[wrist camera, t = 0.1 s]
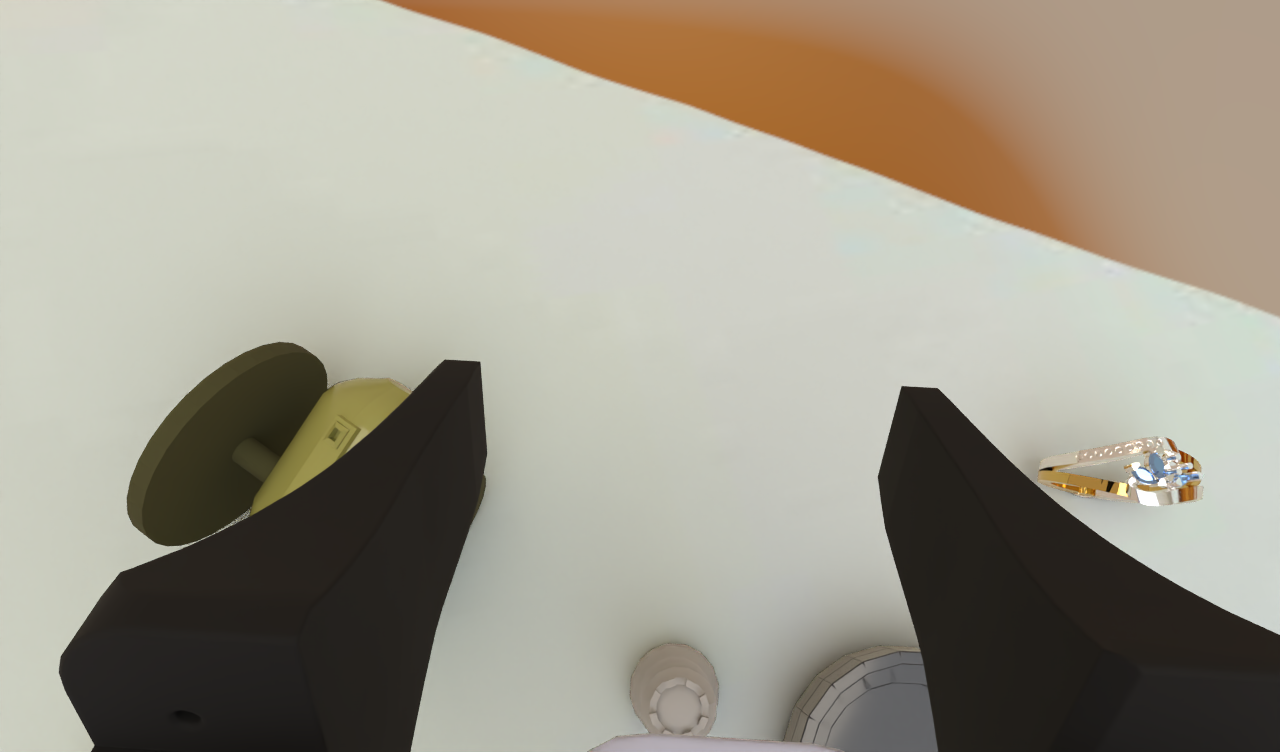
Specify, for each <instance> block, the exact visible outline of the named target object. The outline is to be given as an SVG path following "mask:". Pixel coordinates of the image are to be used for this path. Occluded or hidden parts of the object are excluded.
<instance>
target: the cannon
mask: <svg viewBox="0 0 1280 752" xmlns="http://www.w3.org/2000/svg"><path fill="white" fill-rule="evenodd" d="M411 393H412V391H411V390H410V389H408V388H407V387H406V386H404V385H402V384H401V383H399V382H397V381H395V380H393V379H390V378H356V379H351V380H347V381H342V382H339V383H337V384H335V385H334V386H332V387H331V388H329V389H327V373H326V371H325V368H324V365H323V364H322V362H321V361H320V360H319V359H318V358H317V357H316V356H314V355H313V354H311V353H310V352H309V351H307V350H306V349H304V348H303V347H301V346H298V345H296V344H294V343H284V342H278V343H272V344H267V345H263V346H260V347H257V348H255V349H252V350H250V351H247V352H245V353H243V354H241V355H239V356H238V357H236V358H234V359H232V360H231V361H229V362H227V363H225V364H224V365H222V366H221V367H220V368H218V369H217V370H216V371H214V372H213V373H212V374H210V375H209V376H207V377H206V378H205V379H204V380H203V381H201V382H200V383H199V384H198V385H197V386H196V387H195V388H194V389H193V390H191V391H190V392H189V393H188V394H187V395H186V396H185V397H184V398H183V399H182V400H181V401H180V402H179V404H178V405H177V406H176V407H175V408H174V409H173V410H172V411H171V412H170V414H169V415H168V416H167V417H166V418H165V420H164V421H163V422H162V424H161V425H160V426H159V428H158V429H157V431H156V432H155V433H154V435H153V436H152V437H151V439H150V441H149V442H148V444H147V446H146V448H145V449H144V451H143V453H142V455H141V456H140V458H139V460H138V463H137V465H136V468H135V470H134V473H133V475H132V478H131V480H130V485H129V490H128V495H127V511H128V515H129V518H130V520H131V522H132V524H133V526H135V527H136V528H137V529H138V530H139V531H140V532H142V533H143V534H144V535H146V536H147V537H148V538H150V539H151V540H152V541H153V542H155V543H157V544H161V545H164V546H181V545H185V544H188V543H192V542H195V541H198V540H200V539H202V538H204V537H207V536H209V535H211V534H213V533H215V532H216V531H218V530H220V529H221V528H223V527H225V526H226V525H228V524H230V523H231V522H232V521H234V520H235V519H236V518H238V517H239V516H240V515H242V514H243V513H244V512H246V511H247V510H248V509H249V508H250V507H252V508H251V512H250V516H252V515H253V514H255V513H257V512H258V511H260V510H262V509H264V508H265V507H267V506H269V505H270V504H272V503H274V502H275V501H277V500H279V499H281V498H282V497H284V496H286V495H287V494H289V493H291V492H293V491H294V490H296V489H297V488H299V487H300V486H302V485H303V484H305V483H306V482H308V481H309V480H311V479H312V478H313V477H315V476H316V475H318V474H319V473H321V472H322V471H324V470H325V469H326V468H328V467H329V466H330V465H332V464H333V463H334V462H335V461H337V460H338V459H339V458H341V457H342V456H343V455H344V454H345V453H347V452H348V451H349V450H350V449H351V448H352V447H354V446H355V445H356V444H357V443H358V442H360V441H361V440H362V439H363V438H364V437H365V436H367V435H368V434H369V433H370V432H371V431H372V430H373V429H375V428H376V427H377V426H378V425H379V424H380V423H381V422H382V421H383V420H384V419H385V418H386V417H387V416H388V415H389V414H390V413H392V412H393V411H394V410H395V409H396V408H397V407H398V406H399V405H400V404H401V403H402V402H403V401H404V400H405V399H406V398H407V397H408V396H409V395H410V394H411ZM485 487H486V478H485V476H484V475H483V479H482V484H481V489H480V494H479V499H478V504H477V507H476V510H475V513H474V516H473V519H474V517H475V515H476V513H477V511H478V509H479V506H480V504H481V501H482V499H483V496H484V491H485ZM250 516H249V517H250ZM473 519H472V521H473ZM471 523H472V522H471Z"/></svg>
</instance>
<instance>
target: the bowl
mask: <svg viewBox="0 0 1280 752" xmlns="http://www.w3.org/2000/svg"><path fill="white" fill-rule="evenodd" d="M784 742H800V743H812V744H816V745H821V746H825V747H829V748H834V749H838V750H842V751H844V752H938V748H937V741H936V735H935V728H934V722H933V715H932V709H931V704H930V698H929V692H928V687H927V681H926V675H925V670H924V664H923V659H922V655H921V651H920V649H919V648H915V647H901V646H881V645H879V646H875V647H872V648H868V649H865V650H861V651H858V652H854V653H851V654H847V655H846V656H843V657H841V658H840V659H839V660H837V661H836V662H834V663H833V664H832V665H830V666H829V667H827V668H826V669H824V670H823V671H822V672H820V673H819V674H817V675H816V677H815V678H814V679H813V680H812V682H811V683H810V685H809V686H808V687H807V689H806V690H805V692H804V693H803V694H802V696H801V697H800V699H799V700H798V701H797V703H796V704H795V706H794V709H793V712H792V715H791V718H790V721H789V724H788V727H787V731H786V734H785V737H784Z"/></svg>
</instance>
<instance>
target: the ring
mask: <svg viewBox="0 0 1280 752" xmlns="http://www.w3.org/2000/svg"><path fill="white" fill-rule="evenodd" d="M1159 453H1163V454H1164V455H1163V456H1162V457H1160V456H1158V455H1157V454H1159ZM1140 455H1143V456H1144V457H1145V459H1144V466H1145V468H1143V467H1140V463H1131V464H1128V465H1125V466H1124V469H1125V471H1126V473H1127V472H1128V473H1129V475H1130V477H1129V478H1127V480H1126V481H1125V482H1119V481H1109V480H1102V479H1097V478H1092V477H1086V476H1081V475H1075V474H1069V473H1063V472H1059V470H1065V469H1072V468H1078V467H1085V466H1091V465H1097V464H1102V463H1108V462H1113V461H1118V460H1122V459H1127V458H1131V457H1135V456H1140ZM1203 477H1204V474H1203V473H1201V465H1200V464H1199V462H1198V461H1197V460H1196V459H1194V458H1193V457H1192V456H1190V455H1188V454H1186V453H1184V452H1182V451H1180V450H1178V448H1177V446H1176V444H1175V443H1174V442H1173V441H1172V440H1170V439H1168V438H1165V437H1148V438H1142V439H1137V440H1133V441H1128V442H1124V443H1119V444H1114V445H1109V446H1104V447H1099V448H1093V449H1088V450H1082V451H1077V452H1071V453H1065V454H1060V455H1055V456H1050V457H1047V458H1044V459H1042V460H1041V461H1040V466H1039V471H1038V478H1037V482H1039V483H1041V484H1043V485H1046V486H1049V487H1052V488H1055V489H1059V490H1062V491H1066V492H1070V493H1073V495H1076V496H1080V497H1085V498H1089V497H1092V498H1098V499H1105V500H1112V501H1120V502H1130V503H1142V504H1145V505H1152V506H1164V505H1171V504H1185V503H1192V502H1197V501H1200V500H1202V499H1203V486H1198V485H1199V484H1200V482H1201V480H1202V479H1203ZM1138 483H1139V484H1142V485H1138Z"/></svg>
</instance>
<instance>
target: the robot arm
mask: <svg viewBox="0 0 1280 752" xmlns="http://www.w3.org/2000/svg"><path fill="white" fill-rule="evenodd" d="M486 457H487V444H486V431H485V418H484V404H483V391H482V378H481V364H480V362H477V361H460V360H444V361H443V362H442V363H441V364H439V365H438V366H437V367H436V368H435V369H434V370H433V371H432V372H431V373H430V374H429V375H428V377H427V378H426V379H425V380H424V381H423V382H422V383H421V384H420V385H419V386H418V387H417V388H416V389H415V390H414V391H413V392H412V393H411V394H410V395H409V396H408V397H407V398H406V399H405V400H404V401H403V402H402V403H401V404H400V405H399V406H398V407H397V408H396V409H395V410H394V411H393V412H392V413H390V414H389V415H388V416H387V417H386V418H385V419H384V420H383V421H382V422H381V423H380V424H379V425H378V426H377V427H376V428H375V429H373V430H372V431H371V432H370V433H369V434H368V435H367V436H365V437H364V438H363V439H362V440H361V441H360V442H358V443H357V444H356V445H355V446H354V447H352V448H351V449H350V450H349V451H348V452H347V453H345V454H344V455H343V456H342V457H341V458H339V459H338V460H337V461H335V462H334V463H333V464H332V465H330V466H329V467H328V468H326V469H325V470H324V471H322V472H321V473H319V474H318V475H316V476H315V477H313V478H312V479H311V480H309V481H308V482H306V483H305V484H303V485H302V486H300V487H299V488H297V489H296V490H294V491H293V492H291V493H289V494H287V495H286V496H284V497H282V498H281V499H279V500H277V501H275V502H274V503H272V504H270V505H269V506H267V507H265V508H264V509H262V510H260V511H258V512H257V513H255V514H253V515H252V516H250V517H248V518H246V519H244V520H242V521H240V522H238V523H236V524H234V525H232V526H230V527H228V528H226V529H224V530H222V531H220V532H218V533H216V534H214V535H212V536H210V537H207V538H205V539H203V540H201V541H199V542H197V543H194V544H192V545H190V546H188V547H185V548H183V549H181V550H178V551H175V552H173V553H170V554H168V555H165V556H163V557H160V558H157V559H155V560H152V561H150V562H147V563H145V564H142V565H139V566H137V567H134V568H132V569H129V570H126V571H123V572H120V574H119V575H118V576H117V577H116V579H115V580H114V581H113V582H112V584H111V585H110V586H109V587H108V589H107V590H106V591H105V592H104V594H103V595H102V596H101V598H100V599H99V601H98V602H97V604H96V605H95V607H94V608H93V610H92V611H91V613H90V614H89V616H88V617H87V619H86V620H85V621H84V623H83V624H82V626H81V627H80V629H79V630H78V632H77V633H76V635H75V636H74V638H73V639H72V641H71V642H70V644H69V645H68V647H67V648H66V650H65V651H64V652H63V654H62V655H61V659H60V666H59V674H60V677H61V680H62V683H63V686H64V689H65V691H66V693H67V695H68V697H69V699H70V701H71V703H72V704H73V706H74V708H75V710H76V712H77V714H78V715H79V717H80V719H81V721H82V723H83V725H84V726H85V728H86V730H87V732H88V734H89V736H90V738H91V739H92V741H93V743H94V745H95V746H94V748H93V749H92V751H91V752H410V751H411V746H412V740H413V735H414V730H415V725H416V720H417V716H418V711H419V706H420V701H421V696H422V691H423V686H424V681H425V677H426V672H427V668H428V663H429V659H430V654H431V650H432V645H433V641H434V636H435V632H436V628H437V625H438V621H439V618H440V614H441V611H442V608H443V605H444V602H445V599H446V596H447V593H448V590H449V587H450V584H451V581H452V578H453V575H454V572H455V569H456V566H457V563H458V561H459V558H460V555H461V552H462V549H463V546H464V543H465V540H466V537H467V534H468V531H469V528H470V525H471V522H472V519H473V516H474V513H475V510H476V507H477V504H478V499H479V494H480V489H481V484H482V479H483V474H484V468H485V463H486ZM878 481H879V489H880V497H881V504H882V511H883V517H884V523H885V529H886V533H887V536H888V540H889V543H890V547H891V550H892V554H893V557H894V561H895V564H896V568H897V571H898V574H899V578H900V581H901V585H902V588H903V591H904V595H905V598H906V601H907V605H908V608H909V612H910V615H911V618H912V622H913V625H914V628H915V632H916V635H917V639H918V643H919V647H920V651H921V655H922V659H923V664H924V670H925V675H926V681H927V687H928V692H929V698H930V704H931V709H932V715H933V722H934V728H935V735H936V741H937V748H938V752H1280V635H1278V634H1276V633H1274V632H1272V631H1270V630H1267V629H1265V628H1263V627H1261V626H1259V625H1256V624H1254V623H1252V622H1250V621H1248V620H1245V619H1243V618H1241V617H1239V616H1237V615H1234V614H1232V613H1230V612H1228V611H1226V610H1224V609H1222V608H1220V607H1218V606H1216V605H1214V604H1213V603H1211V602H1209V601H1207V600H1205V599H1203V598H1201V597H1199V596H1197V595H1196V594H1194V593H1192V592H1190V591H1188V590H1186V589H1184V588H1182V587H1181V586H1179V585H1177V584H1175V583H1174V582H1172V581H1170V580H1168V579H1167V578H1165V577H1163V576H1161V575H1160V574H1158V573H1156V572H1155V571H1153V570H1152V569H1150V568H1148V567H1147V566H1145V565H1144V564H1142V563H1140V562H1139V561H1137V560H1136V559H1134V558H1133V557H1131V556H1129V555H1128V554H1126V553H1125V552H1123V551H1122V550H1120V549H1119V548H1117V547H1116V546H1114V545H1113V544H1111V543H1110V542H1108V541H1107V540H1105V539H1104V538H1102V537H1101V536H1100V535H1098V534H1097V533H1096V532H1094V531H1093V530H1092V529H1090V528H1089V527H1088V526H1086V525H1085V524H1084V523H1082V522H1081V521H1079V520H1078V519H1077V518H1075V517H1074V516H1073V515H1071V514H1070V513H1069V512H1068V511H1066V510H1065V509H1064V508H1063V507H1061V506H1060V505H1059V504H1058V503H1056V502H1055V501H1054V500H1053V499H1052V498H1051V497H1049V496H1048V495H1047V494H1046V493H1045V492H1044V491H1043V490H1041V489H1040V488H1039V487H1038V486H1037V485H1036V484H1034V483H1033V482H1032V481H1031V480H1030V479H1029V478H1028V477H1027V476H1025V475H1024V474H1023V473H1022V472H1021V471H1020V470H1019V469H1018V468H1017V467H1016V466H1015V465H1014V464H1013V463H1011V462H1010V461H1009V460H1008V459H1007V458H1006V457H1005V456H1004V455H1003V454H1002V453H1001V452H1000V451H999V450H998V449H997V448H996V447H995V446H994V445H993V444H992V443H991V442H990V441H989V440H988V439H987V438H986V437H985V436H984V435H983V434H982V433H981V432H980V431H979V430H978V429H977V428H976V427H975V426H974V425H973V424H972V423H971V422H970V421H969V419H968V418H967V417H966V416H965V415H964V414H963V413H962V412H961V411H960V410H959V409H958V408H957V407H956V406H955V405H954V404H953V403H952V402H951V401H950V400H949V399H948V398H947V397H946V396H945V395H944V394H943V393H942V392H941V391H940V390H939V389H938V388H924V387H907V386H902V387H901V391H900V395H899V398H898V402H897V406H896V410H895V414H894V417H893V421H892V425H891V429H890V433H889V436H888V440H887V444H886V448H885V452H884V455H883V459H882V463H881V467H880V471H879V475H878ZM588 752H844V751H842V750H838V749H834V748H829V747H825V746H821V745H816V744H812V743H800V742H784V741H768V740H752V739H736V738H720V737H703V736H687V735H671V734H655V733H646V734H636V735H625V736H616V737H614V738H612V739H610V740H608V741H606V742H604V743H602V744H600V745H599V746H597V747H595V748H593V749H591V750H589V751H588Z"/></svg>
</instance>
